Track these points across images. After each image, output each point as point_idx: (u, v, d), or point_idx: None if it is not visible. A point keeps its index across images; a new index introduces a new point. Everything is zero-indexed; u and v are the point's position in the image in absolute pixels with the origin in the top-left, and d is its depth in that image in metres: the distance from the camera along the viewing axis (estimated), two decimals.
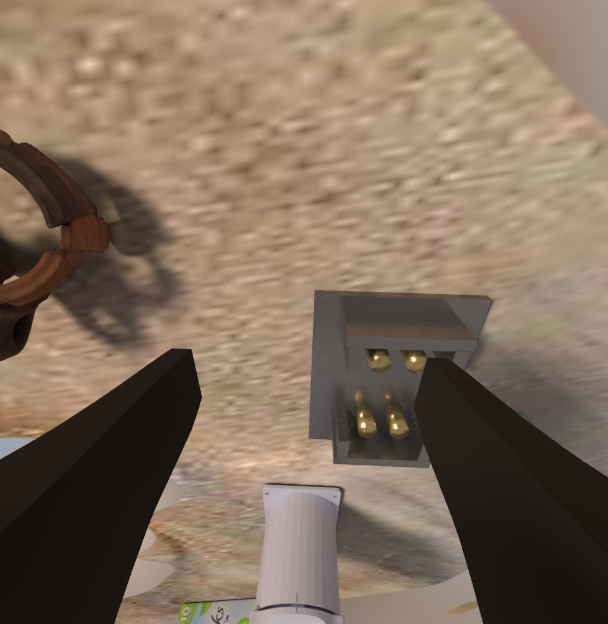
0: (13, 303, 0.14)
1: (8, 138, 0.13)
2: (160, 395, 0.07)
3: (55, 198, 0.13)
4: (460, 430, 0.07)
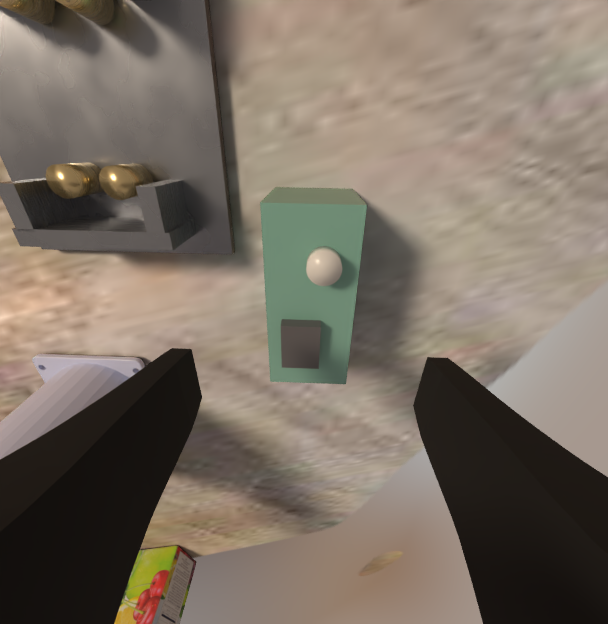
0: None
1: None
2: (160, 395, 0.07)
3: None
4: (460, 430, 0.07)
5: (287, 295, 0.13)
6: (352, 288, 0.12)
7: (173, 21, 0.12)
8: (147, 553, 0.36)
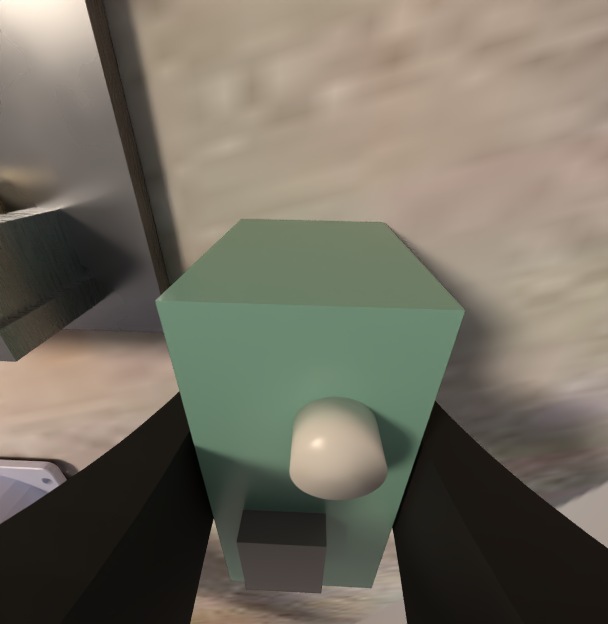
0: None
1: None
2: None
3: None
4: None
5: (250, 477, 0.06)
6: (400, 471, 0.05)
7: None
8: None
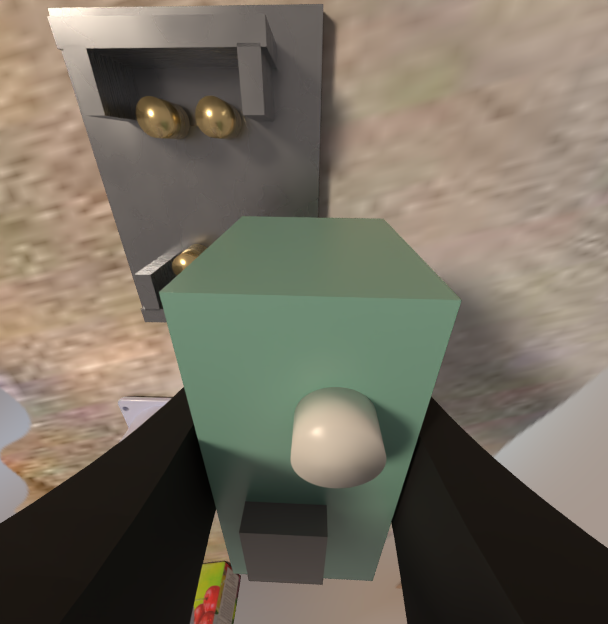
0: None
1: None
2: None
3: None
4: None
5: (252, 468, 0.06)
6: (400, 462, 0.05)
7: (290, 136, 0.13)
8: None
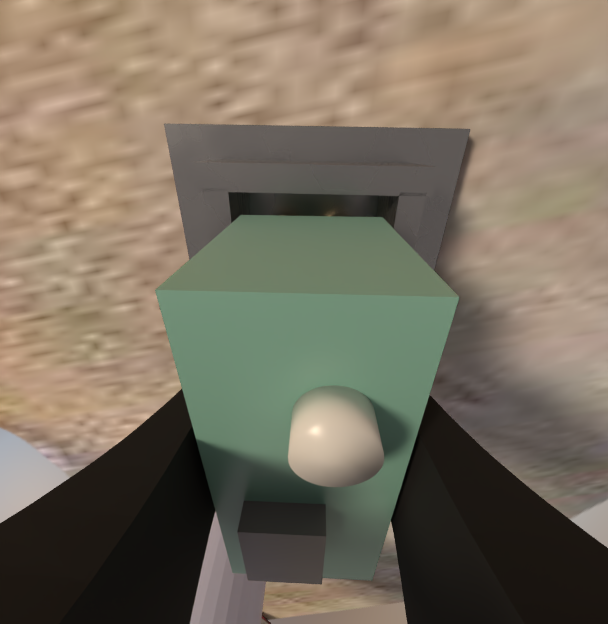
0: None
1: None
2: None
3: None
4: None
5: (251, 466, 0.06)
6: (398, 461, 0.05)
7: None
8: None
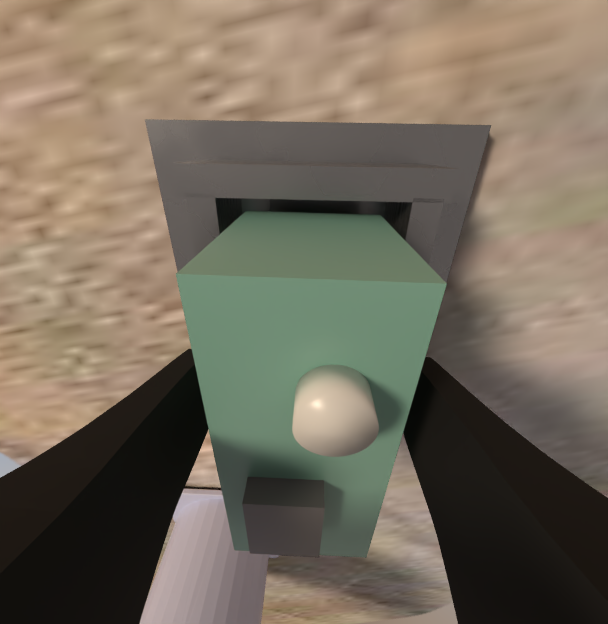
0: None
1: None
2: (180, 396, 0.07)
3: None
4: (438, 429, 0.07)
5: (255, 443, 0.06)
6: (392, 437, 0.06)
7: None
8: None
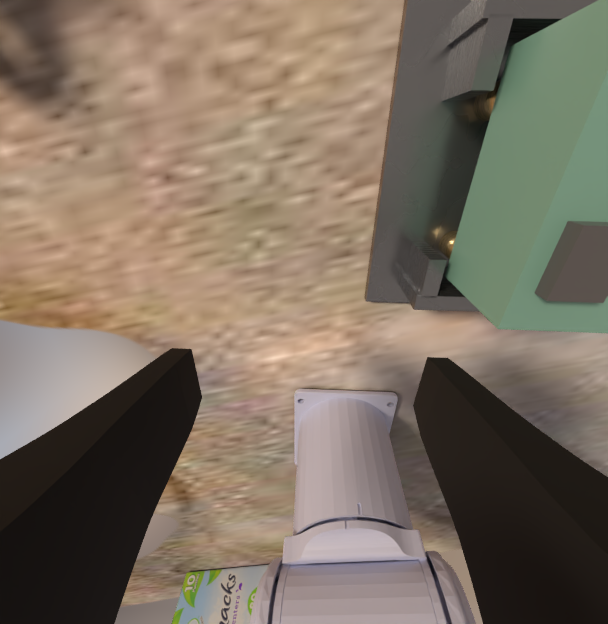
0: None
1: None
2: (160, 395, 0.07)
3: None
4: (460, 430, 0.07)
5: (598, 175, 0.08)
6: None
7: None
8: None
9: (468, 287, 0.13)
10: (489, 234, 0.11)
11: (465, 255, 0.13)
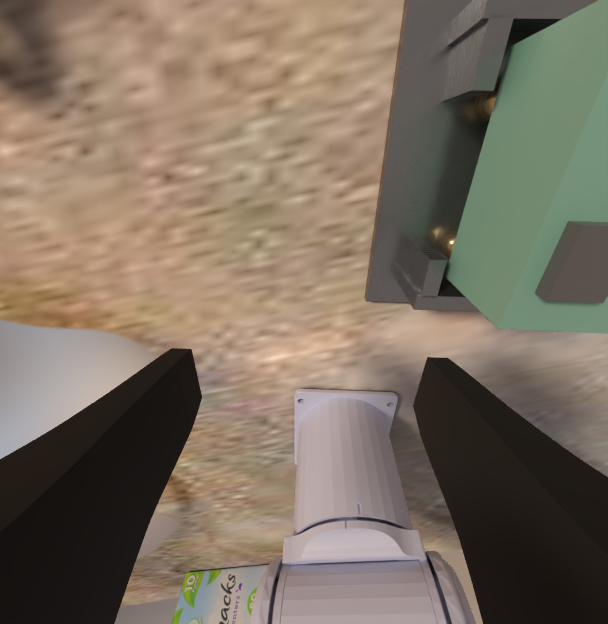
0: None
1: None
2: (160, 395, 0.07)
3: None
4: (460, 430, 0.07)
5: (598, 175, 0.08)
6: None
7: None
8: None
9: (468, 287, 0.13)
10: (490, 234, 0.11)
11: (465, 255, 0.13)
